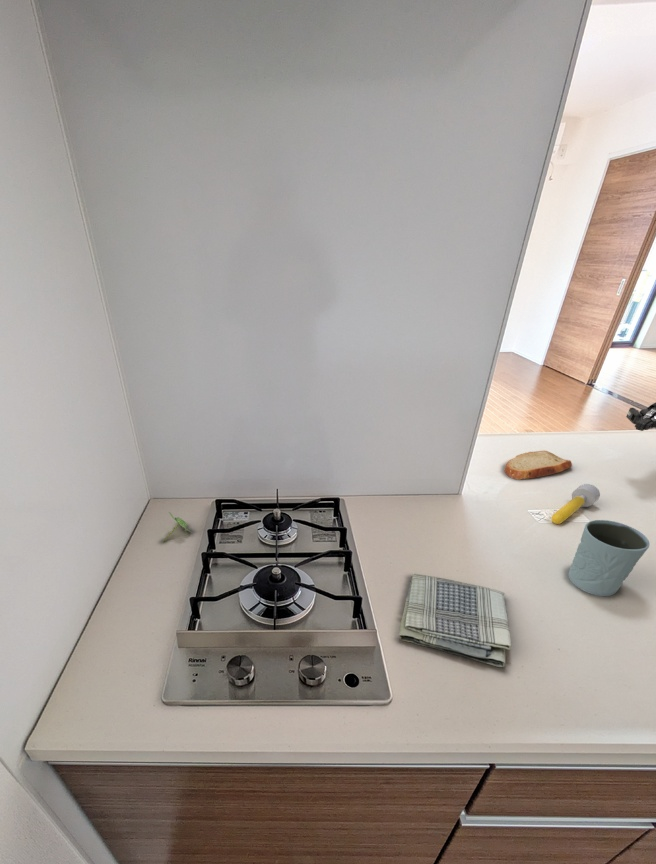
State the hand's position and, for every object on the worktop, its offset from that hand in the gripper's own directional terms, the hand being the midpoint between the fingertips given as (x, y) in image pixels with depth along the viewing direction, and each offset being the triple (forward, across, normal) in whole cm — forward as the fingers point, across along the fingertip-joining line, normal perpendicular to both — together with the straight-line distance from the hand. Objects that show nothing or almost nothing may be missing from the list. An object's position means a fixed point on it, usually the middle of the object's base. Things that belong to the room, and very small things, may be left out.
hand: (640, 426), depth 109 cm
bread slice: (+5, -18, +18) cm, 26 cm away
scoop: (+13, -1, +15) cm, 20 cm away
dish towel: (+74, +5, +19) cm, 77 cm away
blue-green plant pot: (+43, +15, +19) cm, 49 cm away
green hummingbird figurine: (+106, -51, +19) cm, 119 cm away
